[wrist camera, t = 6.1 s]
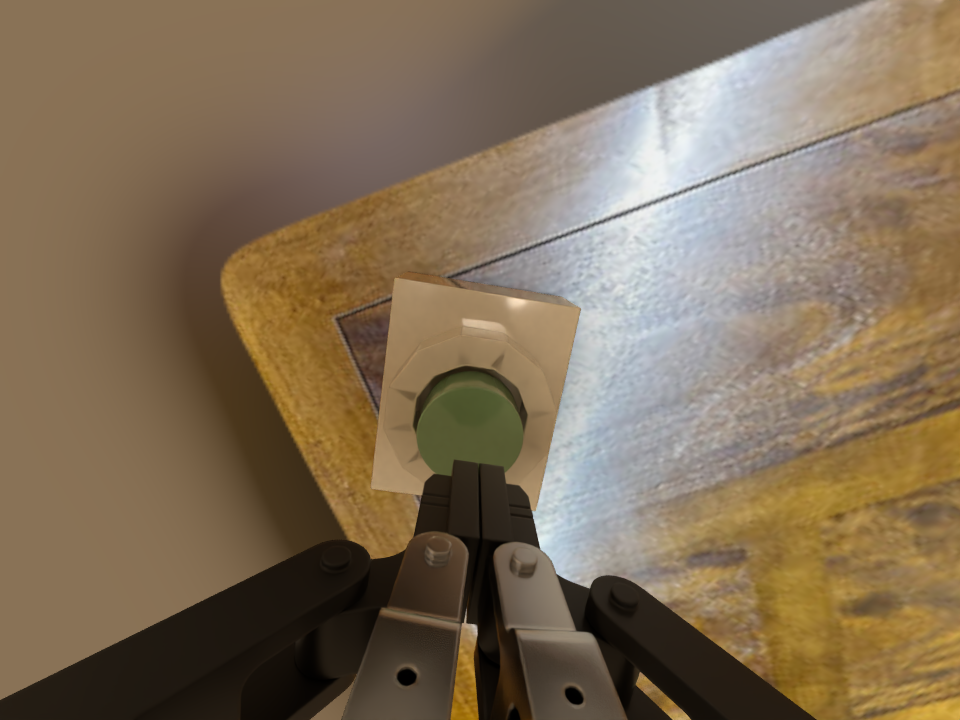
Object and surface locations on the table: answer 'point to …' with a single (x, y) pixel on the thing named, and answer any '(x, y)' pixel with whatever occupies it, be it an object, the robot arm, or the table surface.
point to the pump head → (469, 423)
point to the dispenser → (470, 368)
